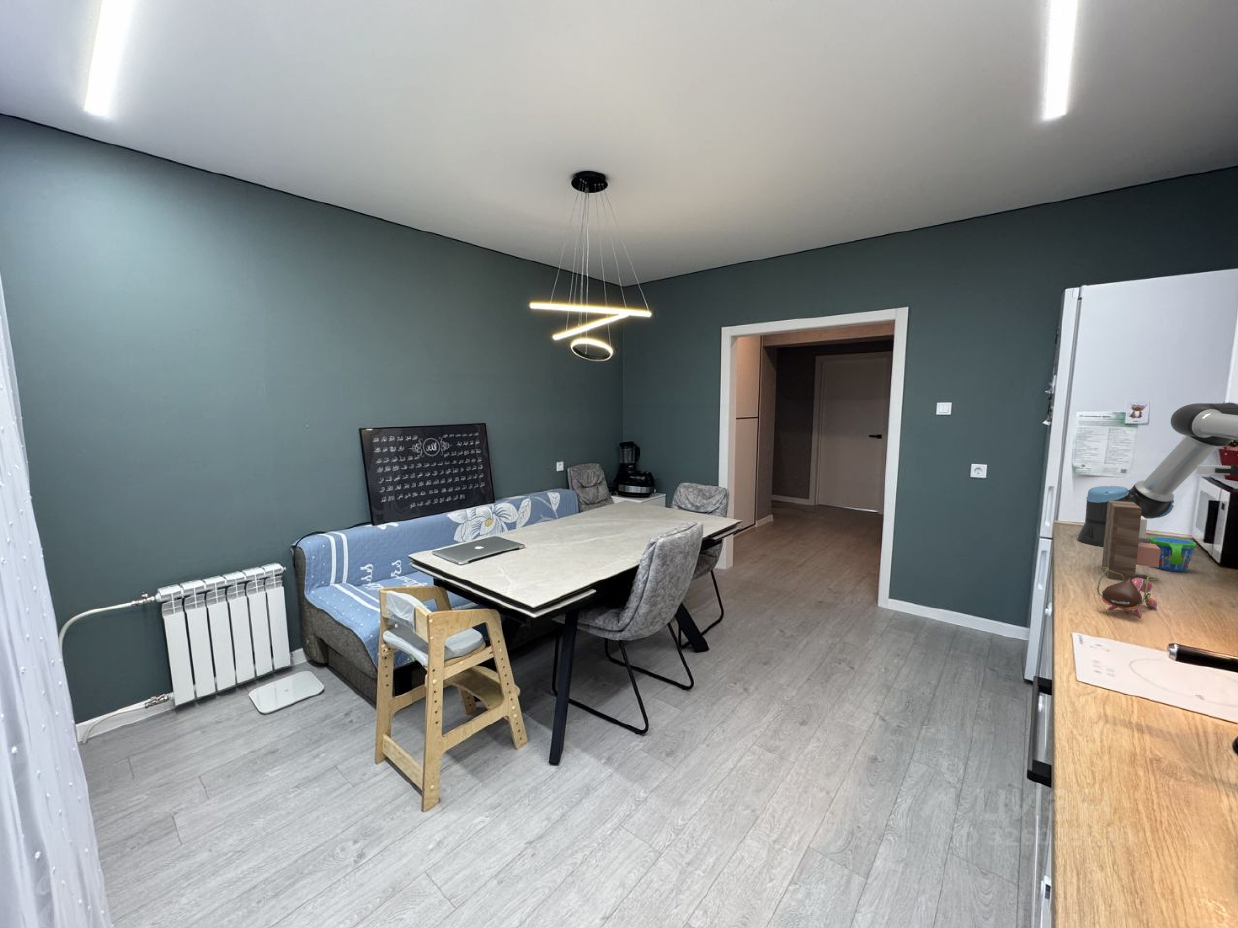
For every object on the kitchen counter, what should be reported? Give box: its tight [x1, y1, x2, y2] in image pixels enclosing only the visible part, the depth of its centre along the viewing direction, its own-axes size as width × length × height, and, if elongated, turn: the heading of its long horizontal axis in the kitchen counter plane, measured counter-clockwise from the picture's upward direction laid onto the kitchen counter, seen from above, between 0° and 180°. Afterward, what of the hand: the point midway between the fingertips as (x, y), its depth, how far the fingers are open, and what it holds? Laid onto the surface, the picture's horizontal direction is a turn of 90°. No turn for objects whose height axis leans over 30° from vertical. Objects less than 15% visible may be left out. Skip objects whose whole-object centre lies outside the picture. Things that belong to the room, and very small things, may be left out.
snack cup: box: [1149, 536, 1197, 573], centre depth 167 cm, size 16×10×10 cm
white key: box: [1139, 516, 1148, 539], centre depth 160 cm, size 7×5×6 cm
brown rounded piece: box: [1096, 566, 1159, 619], centre depth 134 cm, size 11×15×17 cm
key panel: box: [1101, 500, 1142, 581], centre depth 162 cm, size 14×6×24 cm, turn 142°
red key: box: [1136, 542, 1160, 568], centre depth 159 cm, size 7×5×6 cm
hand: (1197, 469), depth 154 cm, fingers closed
